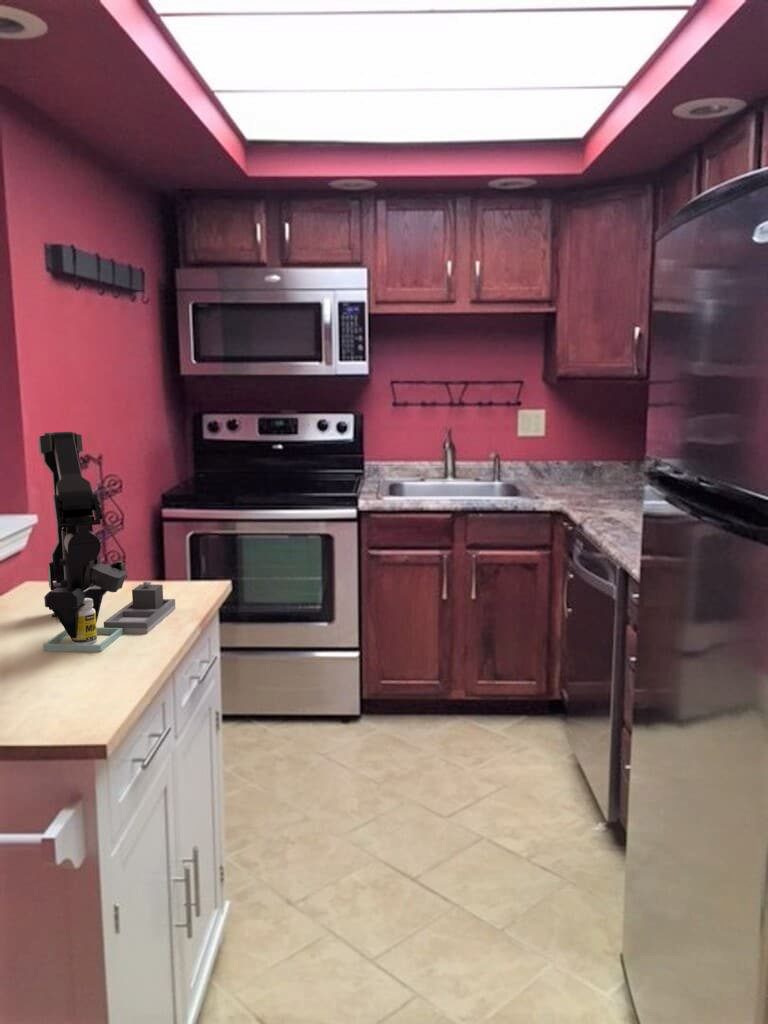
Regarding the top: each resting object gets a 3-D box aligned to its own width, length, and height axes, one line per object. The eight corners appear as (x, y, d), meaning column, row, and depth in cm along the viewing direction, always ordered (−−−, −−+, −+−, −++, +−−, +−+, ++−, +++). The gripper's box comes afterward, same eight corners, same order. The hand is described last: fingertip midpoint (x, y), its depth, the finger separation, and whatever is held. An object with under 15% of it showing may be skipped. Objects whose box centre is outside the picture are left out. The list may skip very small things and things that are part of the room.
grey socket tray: (104, 632, 170) (103, 622, 170) (136, 608, 188) (135, 598, 188) (147, 633, 170) (147, 622, 169) (175, 608, 187) (175, 599, 187)
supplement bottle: (88, 646, 162) (86, 604, 160) (66, 645, 163) (63, 603, 161) (102, 638, 166) (99, 597, 165) (80, 637, 167) (77, 596, 166)
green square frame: (43, 650, 159) (43, 644, 159) (69, 632, 170) (68, 626, 170) (101, 651, 159) (100, 645, 158) (123, 633, 170) (122, 627, 169)
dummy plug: (133, 612, 181) (131, 584, 180) (141, 606, 186) (140, 579, 185) (156, 613, 180) (154, 585, 179) (163, 606, 185) (162, 579, 184)
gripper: (99, 564, 152) (105, 646, 154) (137, 543, 170) (141, 617, 173) (40, 563, 153) (46, 645, 155) (83, 542, 171) (88, 616, 173)
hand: (83, 630), depth 164 cm, fingers open, 9 cm apart
